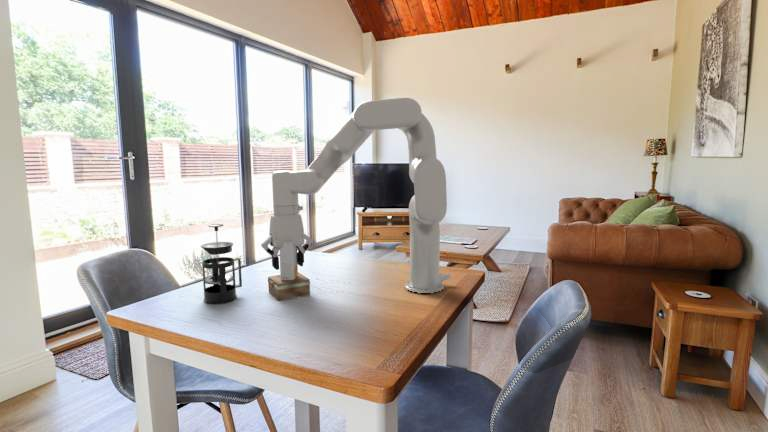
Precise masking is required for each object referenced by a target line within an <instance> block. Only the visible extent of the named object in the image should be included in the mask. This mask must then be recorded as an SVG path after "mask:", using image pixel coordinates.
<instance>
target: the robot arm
mask: <svg viewBox="0 0 768 432" xmlns="http://www.w3.org/2000/svg"><path fill="white" fill-rule="evenodd" d="M422 112H423V111H422V108H421V105H420V103H419V102H418V101H416V100H415V99H413V98H410V97H397V98H395V97H394V98H386V99H384V98H383V99H374V100H364V101H362V102H359V103H358V104H357V106H355V108H354V110H353V112H352V113H351V114H350V115H349V116H348V117H347V119H345V121H344V122H343V123H342V124H341V125H340V126H339V128H338V129H337V130H336V131H335V132H334V133H333V134H332V135H331V136H330V137H329V139H328V140H327V142H326V144H325V146H324V147H323V149H322V150H321V152H320V153H319V154H318V155H317V156H316V158H315V159H314V160H313V161H312V162H311V163H310V165H308V167H307V168H306V169H304V170H298V171H297V170H296V171H295V170H275V171H273V173H272V175H271V179H272V180H271V182H272V203H273V214H272V215H271V216H270V220H269V221H270V222H269V236H268V238H266V239H265V240H264V241H263V242H262V243H261V244H260V247H261V248H263V250H264V251H265V252H266V253H268V254H269V255H270V256H271V266H272V267H273V268H274V269H275V270H277V271H278V270H280V256H278V254H279V253H280V248H282V247H283V244H284V242H293V241H294V245H295V247H297V266H300V267H304V263H305V253H306V251H307V250H308V248H309V247H310V246H311V244H312V242H313V239H312V238H311V237H309V235H307V234H306V233H305V229H304V222H303V217H302V215H301V214H300V212H301V211H304V210H303V209H304V207H303V205H300V204H299V195H308V196H309V195H310V196H311V195H314V194H317V193H318V192H319V191H320V190H321V189H322V188H323V186H324V185H325V184H326V183H327V182H328V181H329V180H330V178H332V176H333V175H334V174H335V173H336V172H337V171H338V170H339V168H341V167H342V165H344V164H345V163H346V162H348V160H350V158H352V157H353V156H354V154H355V153H356V152H357V151H358V150H359V148H360V147H362V145H364V143H365V142H366V141H367V140H368V139H369V137H370V136H371V135H372V134H373V132H375V131H378V130H379V131H380V130H381V131H382V130H394V129H398V130H400V131H402V132H403V133H404V134H405V137H406V141H407V148H408V149H407V150H408V163H409V165H408V168H409V169H408V175H409V178H410V179H409V180H411V182H412V184H413V187H414V195H412V197H411V198H410V201H409V204H408V217H409V219H408V221H409V281H408V282H405V285H404V286H405V287H404V288H405V289H406V291H408V290H409V291H408V292H410V291H412V292H411V293H414V292H417V293H416V294H421V293H431V294H435V293H434V292H437V293H439V292H438V291H440V292H442V291H443V290H445V284H444V283H443V282H444V281H447V280H448V281H449V280H451V278H452V276H451V273H444V274H443V273H440V255H441V254H440V253H441V251H440V248H441V245H440V244H441V243H440V242H441V239H440V238H441V235H440V234H441V233H440V232H441V229H440V228H441V227H440V223H441V222H442V221H443V220H444V219H445V216H446V214H447V209H448V208H447V207H448V203H447V202H448V201H447V199H448V198H447V197H448V196H447V177H446V175H447V174H446V170H445V167H444V165H443V163H442V162H441V161H440V160H439V159H438V158H437V148H436V146H437V145H436V137H435V131H434V129H433V125H432V124H431V122H430V121H429V119H428V118H427V117H426V115H425V114H424V113H422ZM269 246H271V247H272V249H271V248H270V247H269ZM442 289H443V290H442ZM441 290H442V291H441Z"/></svg>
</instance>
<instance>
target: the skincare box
mask: <svg viewBox="0 0 768 432" xmlns="http://www.w3.org/2000/svg"><path fill="white" fill-rule="evenodd" d="M297 253H298V249H297V247H295V245H294V241H293V242H284V244H283V247H282V248H280V250H279V270H280V271H279V272H280V275H281V280H294V279H295V278H296V277H297V275H298V271H299V270H298V266H299V265H298V264H297Z"/></svg>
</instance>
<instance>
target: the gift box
mask: <svg viewBox="0 0 768 432" xmlns="http://www.w3.org/2000/svg"><path fill="white" fill-rule="evenodd" d="M267 282H268V292H269V294H271V296H273V297H274V298H275V299H276V300H277V301H284V300H289V299H294V298H300V297H306V296H310V295H311V290H310V289H311V288H310V287H311V281H310V278H308V277H307V276H305V275H303V274H302V273H300V272H298V275H297V277H296V278H295V279H294V280H281V274H278V275H271V276H268V277H267Z"/></svg>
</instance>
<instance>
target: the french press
mask: <svg viewBox="0 0 768 432" xmlns="http://www.w3.org/2000/svg"><path fill="white" fill-rule="evenodd" d="M208 227H209V228H214V232H215V239H216V240H215V241H216V242H215V241H214V242H207V243H203V244H202V245H200V247H201V248H202V249H203V250H204V251H205V252H206V253H208V254H209V255H214V256H216V257H212V258H206V259H204V260H202V262H201V266H202V280H203V302H204V303H205V304H208V305H221V304H228V303H231V302H233V301H235V300H236V299H237V298H238V295H237V289H236V288H242V285H243V284H242V282H243V280H242V279H243V278H242V265H241V263H242V261H241V258H238V257H237V258H236V257H235V258H233V257H227V256H226V257H222V256H221V257H219V255H225V254H228V253H229V254H230V253H231V252H232V251H233V245H234V243H233V242H230V241H218V232H219V228H220V227H224V224H220V223H213V224H210V225H208ZM236 261H237V263H238V265H237V267H238V282H239V284H236V272H235V270H236V269H235V262H236ZM222 262H223V263H222ZM229 267H231V268H232V269H231V270H232V275H228V274H227V272H226V268H229ZM205 269H212V271H211V272H212V276H208V277H206V276H205ZM231 282H232V284H228V283H231ZM206 284H207V285H211V286H207V287H206Z"/></svg>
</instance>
